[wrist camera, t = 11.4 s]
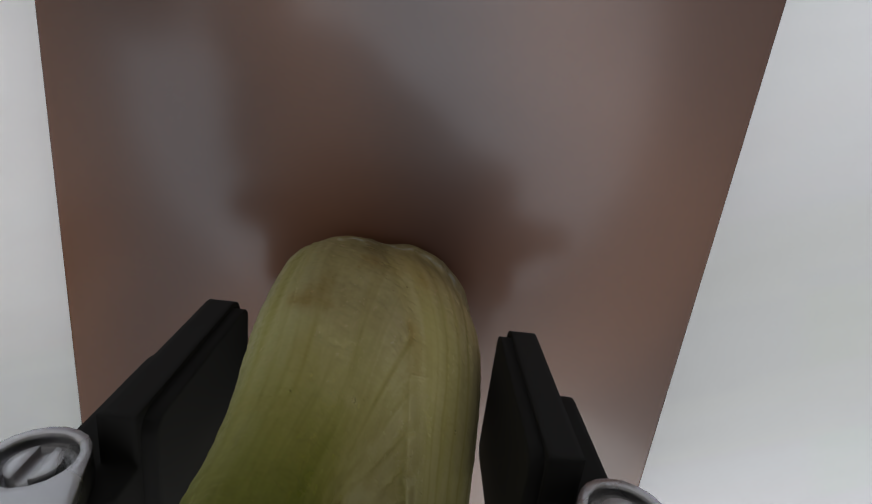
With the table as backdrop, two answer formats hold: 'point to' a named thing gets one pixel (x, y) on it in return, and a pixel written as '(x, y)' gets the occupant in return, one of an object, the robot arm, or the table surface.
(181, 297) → the cutting board
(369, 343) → the fennel bulb
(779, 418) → the table surface
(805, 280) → the table surface
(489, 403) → the robot arm
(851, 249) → the table surface
